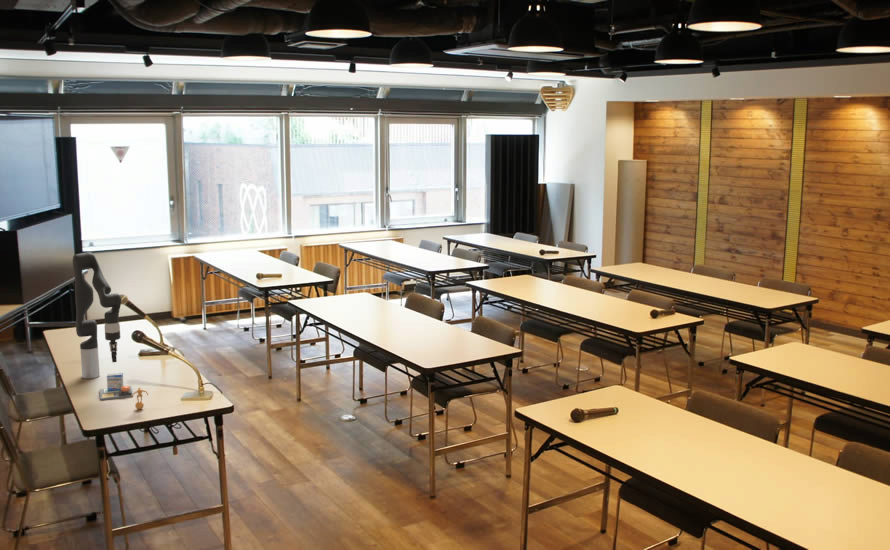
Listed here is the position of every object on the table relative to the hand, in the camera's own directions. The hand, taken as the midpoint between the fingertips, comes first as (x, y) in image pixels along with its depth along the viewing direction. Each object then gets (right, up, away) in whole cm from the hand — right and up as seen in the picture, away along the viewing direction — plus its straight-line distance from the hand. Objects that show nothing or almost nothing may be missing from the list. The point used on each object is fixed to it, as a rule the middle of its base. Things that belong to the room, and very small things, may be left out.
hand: (114, 360), depth 420 cm
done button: (+7, -16, -3) cm, 18 cm away
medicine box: (0, -17, +3) cm, 17 cm away
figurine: (+24, -23, -25) cm, 41 cm away
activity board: (+1, -18, -1) cm, 18 cm away
